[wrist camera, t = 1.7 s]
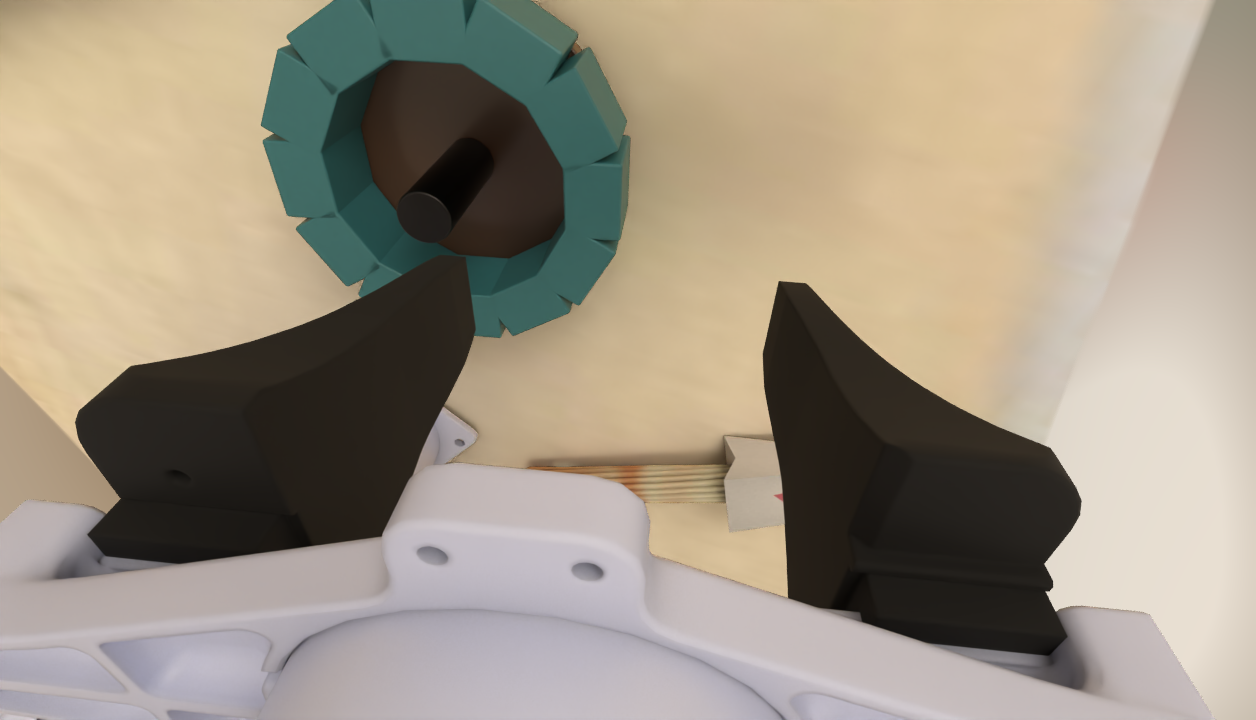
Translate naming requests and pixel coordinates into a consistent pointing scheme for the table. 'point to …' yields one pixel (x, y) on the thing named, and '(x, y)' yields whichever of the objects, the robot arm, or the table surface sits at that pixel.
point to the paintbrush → (710, 483)
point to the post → (461, 160)
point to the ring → (504, 56)
